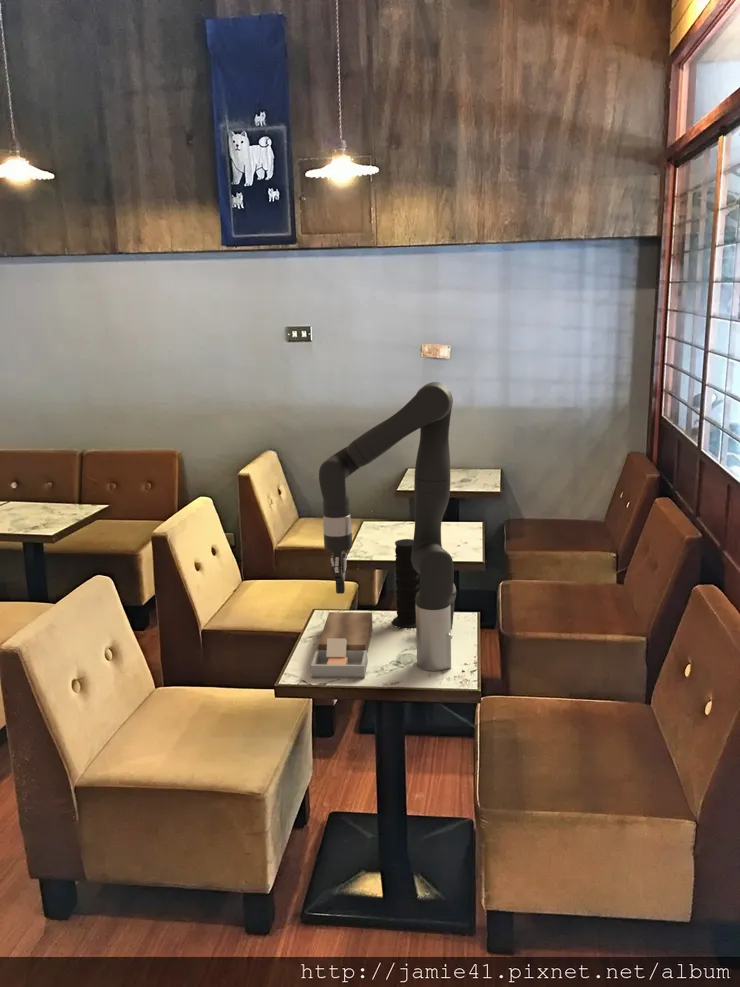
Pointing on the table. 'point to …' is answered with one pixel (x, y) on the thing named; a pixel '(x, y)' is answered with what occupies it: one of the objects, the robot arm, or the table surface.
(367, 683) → the table surface
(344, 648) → the cream tile
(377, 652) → the table surface
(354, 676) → the box
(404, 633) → the table surface
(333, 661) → the terracotta tile
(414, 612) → the handle grip
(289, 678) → the table surface
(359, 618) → the walnut platform
